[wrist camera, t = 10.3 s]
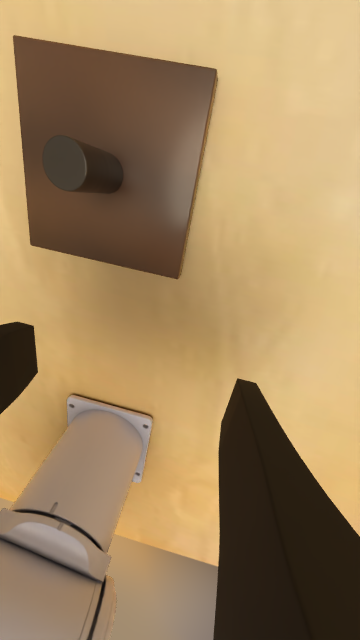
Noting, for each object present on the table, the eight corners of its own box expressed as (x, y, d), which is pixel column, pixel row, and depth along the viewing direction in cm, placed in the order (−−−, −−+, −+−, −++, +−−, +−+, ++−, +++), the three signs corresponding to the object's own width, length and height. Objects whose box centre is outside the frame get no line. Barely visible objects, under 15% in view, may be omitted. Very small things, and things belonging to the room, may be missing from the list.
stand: (180, 275, 17) (163, 302, 12) (40, 243, 17) (-25, 257, 13) (218, 77, 12) (212, 7, 8) (26, 45, 13) (-79, -36, 8)
